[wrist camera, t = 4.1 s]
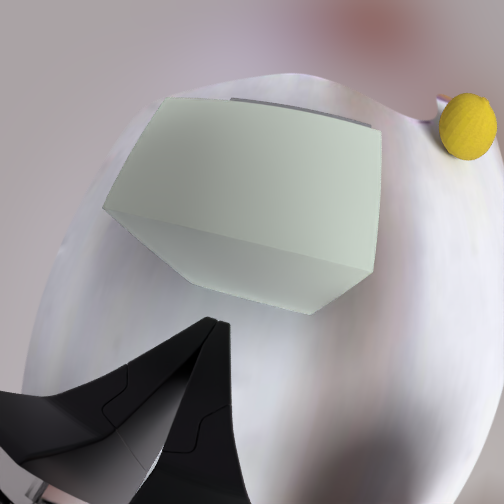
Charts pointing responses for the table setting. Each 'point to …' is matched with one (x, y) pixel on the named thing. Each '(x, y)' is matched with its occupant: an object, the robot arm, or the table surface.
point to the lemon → (467, 126)
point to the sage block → (254, 199)
